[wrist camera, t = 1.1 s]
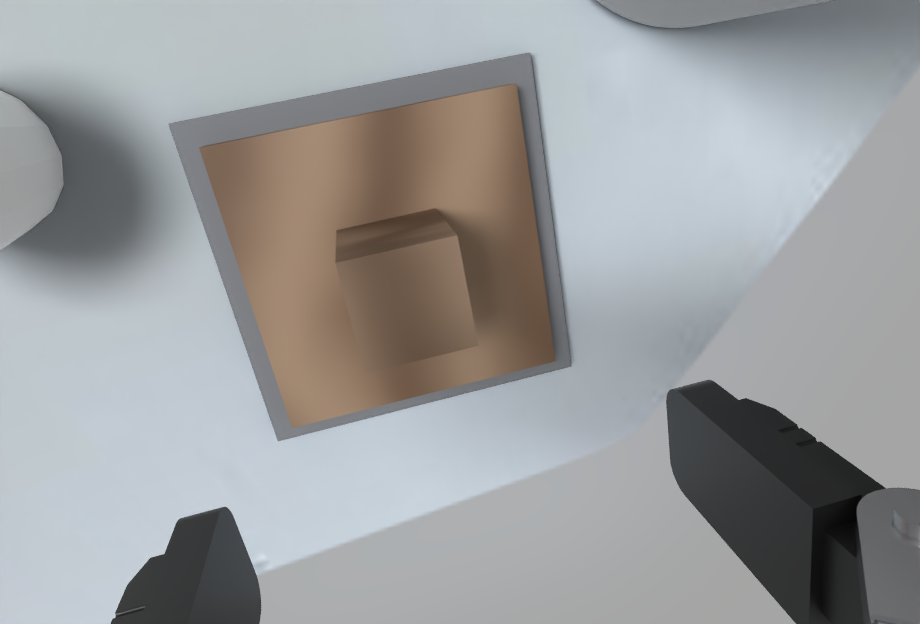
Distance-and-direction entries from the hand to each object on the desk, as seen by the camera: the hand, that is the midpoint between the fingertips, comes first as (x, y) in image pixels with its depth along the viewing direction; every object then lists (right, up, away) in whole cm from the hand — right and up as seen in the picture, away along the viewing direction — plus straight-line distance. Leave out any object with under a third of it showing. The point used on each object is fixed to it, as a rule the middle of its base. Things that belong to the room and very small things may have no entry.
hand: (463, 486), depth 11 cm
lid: (-3, +5, +15) cm, 16 cm away
